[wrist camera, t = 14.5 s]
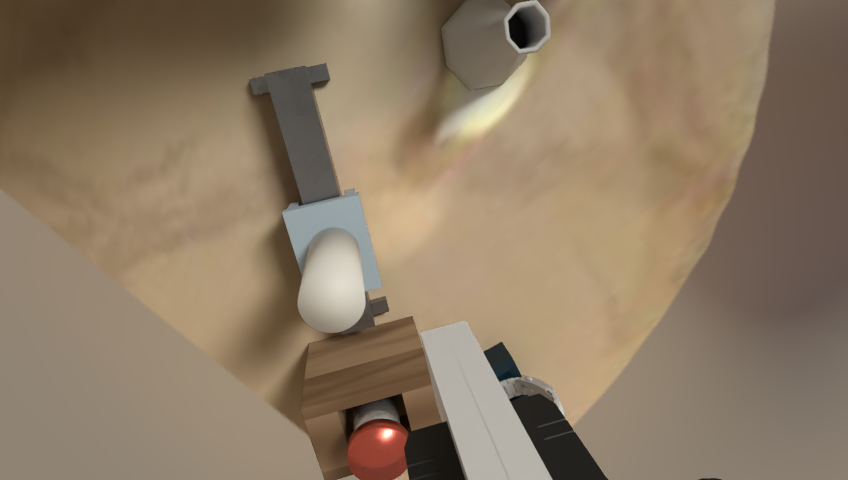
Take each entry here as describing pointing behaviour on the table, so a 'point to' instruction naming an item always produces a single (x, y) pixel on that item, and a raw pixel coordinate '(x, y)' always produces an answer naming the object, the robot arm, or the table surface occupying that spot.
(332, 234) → the carriage
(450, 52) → the flask
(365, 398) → the wooden button housing
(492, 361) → the watch
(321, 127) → the rail
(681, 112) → the table surface
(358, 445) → the button plunger
